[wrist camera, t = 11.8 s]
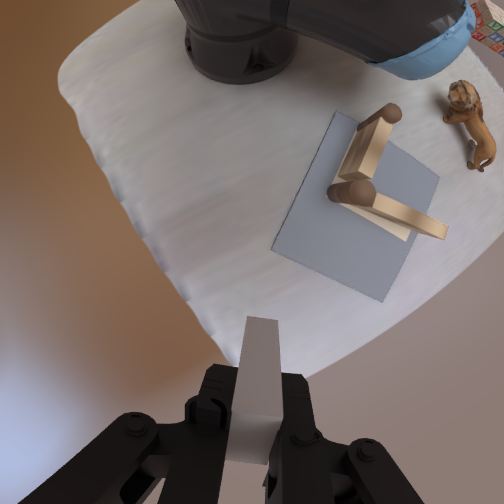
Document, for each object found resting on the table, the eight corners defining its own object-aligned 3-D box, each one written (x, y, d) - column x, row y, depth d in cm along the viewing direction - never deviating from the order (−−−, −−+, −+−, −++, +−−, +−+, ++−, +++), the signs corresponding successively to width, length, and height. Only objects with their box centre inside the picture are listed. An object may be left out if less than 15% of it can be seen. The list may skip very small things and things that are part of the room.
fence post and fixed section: (356, 121, 32) (390, 95, 21) (372, 130, 32) (410, 108, 21) (322, 197, 34) (347, 198, 23) (339, 205, 34) (369, 210, 23)
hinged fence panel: (349, 204, 33) (372, 207, 25) (353, 192, 33) (377, 192, 25) (412, 230, 33) (444, 240, 25) (415, 219, 33) (448, 226, 25)
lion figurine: (422, 102, 30) (455, 84, 21) (438, 87, 29) (470, 69, 21) (474, 180, 32) (511, 181, 23) (487, 162, 31) (523, 160, 22)
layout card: (335, 112, 32) (336, 110, 31) (437, 177, 32) (440, 177, 32) (271, 249, 36) (271, 250, 35) (380, 301, 36) (382, 302, 36)
